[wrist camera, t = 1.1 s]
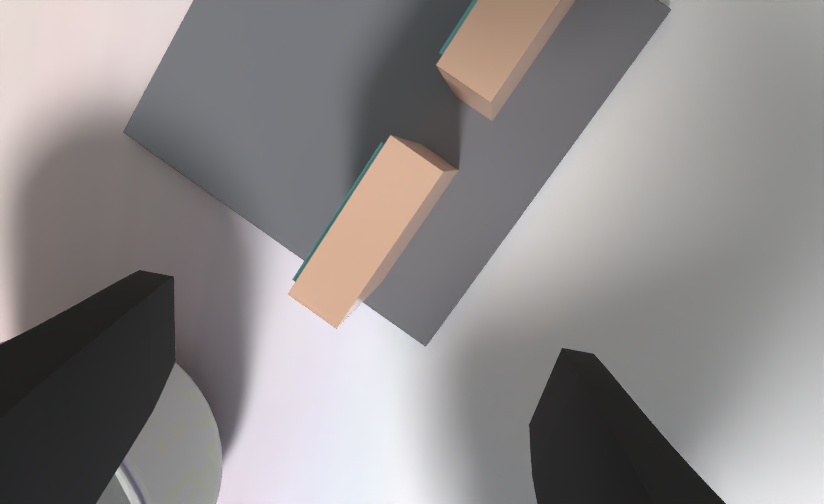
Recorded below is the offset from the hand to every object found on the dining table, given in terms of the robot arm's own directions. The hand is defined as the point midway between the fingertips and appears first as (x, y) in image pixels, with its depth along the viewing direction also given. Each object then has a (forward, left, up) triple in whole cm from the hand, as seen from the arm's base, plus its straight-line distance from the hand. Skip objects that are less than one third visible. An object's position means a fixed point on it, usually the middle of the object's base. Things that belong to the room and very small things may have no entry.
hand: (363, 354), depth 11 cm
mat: (+5, -4, -11) cm, 13 cm away
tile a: (+2, -1, -10) cm, 10 cm away
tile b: (+2, -8, -10) cm, 13 cm away
